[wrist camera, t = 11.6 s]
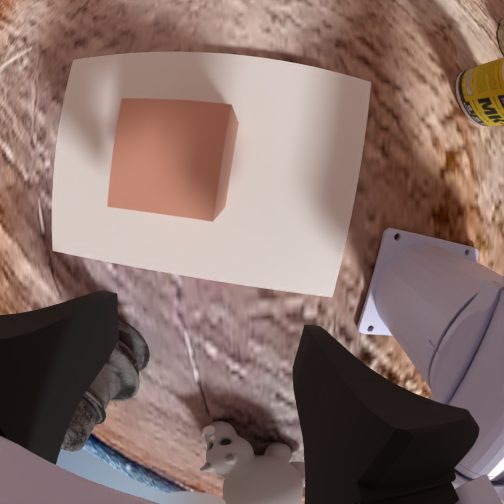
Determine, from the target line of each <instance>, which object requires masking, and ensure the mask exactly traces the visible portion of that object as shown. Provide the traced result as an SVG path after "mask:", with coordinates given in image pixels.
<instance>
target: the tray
mask: <svg viewBox="0 0 504 504" xmlns="http://www.w3.org/2000/svg"><path fill="white" fill-rule="evenodd" d="M370 90H371V82H369V81H366V80H363V79H359V78H356V77H353V76H349V75H345V74H342V73H338V72H334V71H330V70H326V69H321V68H317V67H312V66H308V65H303V64H298V63H292V62H287V61H281V60H275V59H268V58H261V57H253V56H245V55H235V54H223V53H208V52H139V53H124V54H113V55H104V56H95V57H88V58H81V59H75V60H73V63H72V67H71V71H70V75H69V79H68V83H67V87H66V92H65V97H64V102H63V107H62V112H61V118H60V124H59V131H58V138H57V146H56V155H55V165H54V177H53V195H52V250H53V251H56V252H61V253H66V254H71V255H76V256H81V257H85V258H91V259H96V260H101V261H106V262H111V263H116V264H122V265H127V266H132V267H138V268H143V269H149V270H154V271H160V272H166V273H172V274H177V275H183V276H189V277H195V278H201V279H208V280H214V281H220V282H227V283H233V284H240V285H246V286H253V287H260V288H267V289H274V290H281V291H288V292H295V293H303V294H310V295H318V296H326V297H333V293H334V289H335V285H336V281H337V277H338V273H339V269H340V265H341V261H342V257H343V252H344V248H345V244H346V239H347V235H348V230H349V225H350V220H351V216H352V211H353V206H354V200H355V195H356V190H357V184H358V178H359V172H360V166H361V160H362V154H363V147H364V140H365V133H366V125H367V117H368V109H369V100H370ZM122 98H146V99H174V100H191V101H203V102H214V103H223V104H232V107H233V109H234V112H235V114H236V117H237V120H238V122H239V125H238V131H237V137H236V143H235V149H234V155H233V161H232V167H231V174H230V180H229V187H228V193H227V200H226V206H225V208H224V209H223V211H222V212H221V213H220V214H219V215H218V216H217V218H216V219H215V220H214V221H213V222H212V221H205V220H198V219H192V218H185V217H178V216H171V215H164V214H157V213H150V212H143V211H135V210H128V209H121V208H113V207H107V205H108V192H109V181H110V171H111V162H112V154H113V147H114V140H115V134H116V127H117V121H118V116H119V110H120V105H121V100H122Z"/></svg>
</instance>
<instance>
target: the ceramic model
mask: <svg viewBox="0 0 504 504" xmlns="http://www.w3.org/2000/svg"><path fill="white" fill-rule="evenodd" d="M498 41H499V45H500V49H501V51H502V53H503V54H504V18H503V19H502V20H501V21H500V25H499V30H498Z"/></svg>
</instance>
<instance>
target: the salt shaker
mask: <svg viewBox="0 0 504 504" xmlns="http://www.w3.org/2000/svg"><path fill="white" fill-rule="evenodd" d="M118 327H119V340H118V342H117V344H116V346H115V348H114V350H113V352H112V354H111V356H110V358H109V359H108V361H107V362H106V364H105V365H104V367H103V368H102V370H101V371H100V372H99V374H98V375H97V377H96V378H95V380H94V381H93V383H92V384H91V385H90V387H89V388H88V390H87V391H86V393H85V394H84V396H83V398H82V400H81V401H80V403H79V405H78V407H77V409H76V411H75V414H74V416H73V418H72V420H71V422H70V425H69V427H68V430H67V432H66V435H65V437H64V440H63V443H62V446H61V449H64V450H67V451H72V452H73V451H78V450H80V449H81V448H83V447H84V445H85V443H86V441H87V439H88V437H89V435H90V434H91V432H92V430H93V428H94V426H95V425H96V424H100V423H102V422H104V420H105V418H106V413H105V409H106V407H107V405H108V404H109V402H110V400H112V401H126V400H129V399H132V398H133V397H134V396H135V395H136V394H137V392H138V390H139V371H142V370H143V369H144V368H145V367H146V366H147V363H148V361H149V355H150V354H149V349H148V346H147V344H146V342H145V340H144V339H143V337H142V336H141V335H140V333H138V332H137V331H136V330H135V329H134V328H133V327H131V326H129V325H128V324H126V323H124V322H121V321H118Z"/></svg>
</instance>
